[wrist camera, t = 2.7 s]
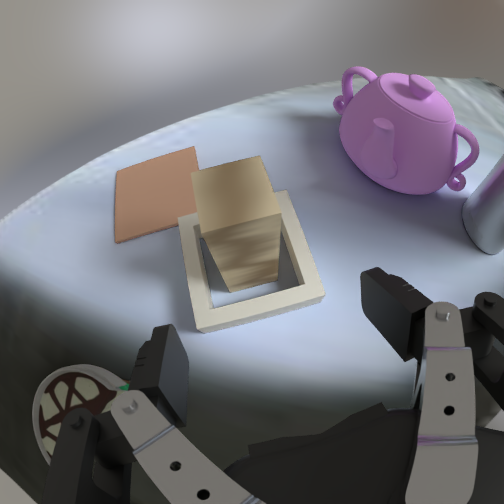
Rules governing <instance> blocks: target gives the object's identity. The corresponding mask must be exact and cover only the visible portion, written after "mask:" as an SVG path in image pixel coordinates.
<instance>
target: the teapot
mask: <svg viewBox="0 0 504 504" xmlns="http://www.w3.org/2000/svg"><path fill="white" fill-rule="evenodd" d="M354 74H358V75H360V76H362V77H364V78H365V79H366V80H368V81H369V84H367V85H366V86H365V87H363V88H362V89H361V90H360V91H359V92H358V93H357V94H356V95H355V96H354V97H353V89H352V78H353V75H354ZM342 93H343V96H342V95H341V96H337V97H336V98H335V99H334V102H333V106H334V108H335V110H336V111H337V112H338V113H339V114H341V115H342V118H341V121H340V126H339V134H340V138H341V142H342V145H343V147H344V149H345V151H346V152H347V154H348V156H349V157H350V158H351V160H352V161H353V162H354V163H355V165H356V166H357V167H358V168H359V169H360V170H361V171H362V172H363V173H364V174H366V175H367V176H368V177H369V178H371V179H372V180H373V181H375V182H376V183H378V184H380V185H382V186H384V187H386V188H388V189H391V190H393V191H397V192H400V193H406V194H415V195H421V194H429V193H432V192H435V191H437V190H439V189H440V188H442V187H443V186H444V185H445V184H446V183H447V185H448V187H449V188H450V189H452V190H454V191H461V190H462V189H463V188H464V187H465V184H466V179H465V177H464V175H462V174H461V173H462V172H463V171H465V170H466V169H468V168H469V167H470V166H472V165H473V164H474V163H475V161H476V160H477V158H478V155H479V145H478V142H477V140H476V138H475V136H474V135H473V134H472V132H471V131H470V130H468V129H467V128H466V127H464V126H462V125H459V124H456V120H455V116H454V112H453V109H452V107H451V105H450V104H449V102H448V101H447V100H446V99H445V97H444V96H443V95H442V94H440V93H439V92H438V91H437V90H436V88H435V86H434V85H433V84H432V83H431V82H430V81H429V80H427V79H426V78H424V77H422V76H419V75H415V74H410V75H405V74H400V73H387V74H384V75H382V76H380V77H377V76H376V75H375V74H374V73H373V72H372V71H371V70H369V69H367V68H364V67H351V68H349V69H347V70H346V71H345V72H344V74H343V77H342ZM342 102H344V105H343V103H342ZM457 134H458V135H460V136H461V137H463V138H464V139H465V140H466V141H467V142H468V143H469V145H470V146H471V149H472V151H471V153H470V155H469V156H468V157H467V158H466V159H465V160H464V161H462V162H461V163H459V164H458V165H456V166H455V162H456V158H457V152H458V136H457ZM454 166H455V167H454ZM454 177H455V178H457V179H458V180H459V181H460V182H457V181H456V180H455V179H454Z"/></svg>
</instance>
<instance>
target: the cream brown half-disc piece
mask: <svg viewBox="0 0 504 504" xmlns="http://www.w3.org/2000/svg"><path fill="white" fill-rule="evenodd" d="M129 383H130V381H127V380H122V379H120V378H119V377H118V376H116V375H114V374H113V373H111V372H110V371H108V370H105V369H103V368H101V367H98V366H94V365H88V364H79V365H73V366H68V367H63V368H61V369H58V370H56V371H55V372H53V373H52V374H50V375H49V376H47V377H46V378H45V379H44V380H43V381H42V383H41V384H40V386H39V387H38V389H37V392H36V394H35V398H34V402H33V410H32V419H33V427H34V432H35V436H36V440H37V442H38V445H39V448H40V450H41V452H42V454H43V456H44V458H45V459H46V461H47V463H48V464H49V466H50V462H51V458H52V454H53V451H54V447H55V444H56V440H57V437H58V434H59V430H60V427H61V424H62V421H63V419H64V417H65V416H66V415H67V414H68V413H69V412H70V411H72V410H74V409H76V408H86V409H88V410H89V411H90V412H91V413H92V415H93V416H95V415H98V414H101V413H104V412H107V411H109V410H111V405H112V403H113V401H114V400H115V399H116V398H117V397H118V396H119V395H120V394H122V393H124V392H126V391H128V387H129Z"/></svg>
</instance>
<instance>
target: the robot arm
mask: <svg viewBox="0 0 504 504" xmlns="http://www.w3.org/2000/svg"><path fill="white" fill-rule="evenodd" d="M462 216H463V222H464V225H465V228H466V230H467V232H468V234H469V236H470V238H471V239H472V240H473V242H474V243H475V244H476V245H477V246H478V247H479V248H480V249H481V250H482V251H484V252H486V253H488V254H492V255H493V254H497V253H499V252H501V251H502V250H503V249H504V154H503V156H502V157H501V158H500V160H499V161H498V162H497V164H496V165H495V166H494V168H493V169H492V170H491V172H490V173H489V174H488V175H487V177H486V178H485V179H484V180H483V182H482V183H481V184H480V185H479V186H478V187H477V189H476V190H475V191H474V192H473V193H472V195H471V196H470V197H469V198H468V199H467V200H466V202H465V203H464V205H463V208H462ZM360 280H361V303H362V309H363V312H364V314H365V315H366V317H367V318H368V319H369V320H370V322H371V323H372V324H373V325H374V326H375V327H376V328H377V330H378V331H379V332H380V333H381V334H382V335H383V337H384V338H385V339H386V340H387V341H388V343H389V344H390V345H391V346H392V347H393V348H394V350H395V351H396V352H397V353H398V354H399V356H400V357H401V358H402V359H403V361H404V362H406V361H408V360H410V359H412V358H414V357H415V358H416V360H417V364H416V370H415V379H414V387H413V394H412V401H411V406H410V409H409V408H396V409H389V410H386V409H385V407H384V405H383V404H382V402H381V403H379V404H376V405H374V406H372V407H369V408H367V409H365V410H362V411H360V412H357V413H355V414H352V415H350V416H349V417H347V418H346V419H344V420H343V421H341V422H340V423H338V424H336V425H335V426H333V427H332V428H330V429H328V430H327V431H325V432H323V433H321V434H317V435H307V436H295V437H282V438H278V439H274V440H270V441H265V442H261V443H256V444H251V445H248V448H249V455H247V456H244V457H242V458H241V459H239V460H237V461H236V462H234V463H233V464H231V465H230V466H229V467H227V468H226V469H225V470H224V471H223V472H222V471H221V470H220V469H219V468H218V467H217V466H215V465H214V464H213V463H212V462H211V461H210V460H209V459H208V458H206V457H205V456H204V455H203V454H202V453H201V452H200V451H199V450H198V449H197V448H196V447H195V446H194V445H193V444H192V443H191V442H190V441H189V440H188V439H187V438H186V437H185V436H184V435H183V434H182V433H181V432H180V431H179V430H178V429H177V428H179V427H186V416H187V393H188V374H189V361H188V356H187V353H186V351H185V349H184V347H183V345H182V342H181V340H180V338H179V336H178V334H177V332H176V329H175V327H174V326H173V325H172V324H168V325H163V326H159V327H155V328H154V329H153V333H152V337H151V340H149V341H146V342H145V343H144V344H143V345H142V347H141V348H140V349H139V352H138V355H137V360H136V362H135V365H134V366H135V367H134V369H133V372H132V376H131V380H130V383H129V387H128V391H126V392H124V393H122V394H120V395H119V396H118V397H117V398H116V399H115V400H114V401H113V403H112V405H111V410H109V411H107V412H104V413H101V414H98V415H95V416H93V415H92V413H91V412H90V411H89V410H88V409H86V408H76V409H74V410H72V411H70V412H69V413H68V414H67V415H66V416H65V417H64V419H63V421H62V424H61V427H60V430H59V434H58V437H57V440H56V444H55V447H54V451H53V454H52V458H51V462H50V466H49V470H48V474H47V478H46V483H45V487H44V492H43V497H42V503H41V504H130V484H131V467H132V462H135V461H138V462H139V463H140V465H141V466H142V467H143V469H144V470H145V471H146V473H147V474H148V475H149V477H150V478H151V479H152V481H153V482H154V483H155V484H156V486H157V487H158V488H159V489H160V491H161V492H162V493H163V494H164V496H165V497H166V498H167V499H168V500H169V501H170V503H171V504H504V432H502V431H498V430H493V429H488V428H484V427H480V426H475V384H474V375H475V376H476V377H477V379H478V380H479V381H480V382H481V383H482V385H483V386H484V387H485V388H486V389H487V391H488V392H489V393H490V394H491V396H492V397H493V398H494V399H495V401H496V402H497V403H498V404H499V406H500V407H501V408H502V410H503V411H504V356H503V355H502V354H501V353H500V352H499V351H498V350H497V349H496V348H495V347H494V346H493V343H494V340H495V337H496V338H497V339H498V340H499V341H500V342H501V343H502V344H503V345H504V299H503V298H502V297H501V296H499V295H497V294H495V293H492V292H482V293H479V294H478V295H477V296H476V297H475V300H474V305H473V307H468V308H464V309H460V310H459V309H458V308H457V307H456V306H455V305H453V304H451V303H448V302H435V303H433V302H432V301H431V300H430V299H428V298H427V297H426V296H424V295H423V294H422V293H421V292H419V291H418V290H417V289H414V287H413V286H412V285H410V284H408V282H406V281H405V280H404V279H402V278H401V277H398V276H395V275H392V274H390V275H388V274H387V273H386V272H384V271H383V270H382V269H380V268H379V267H375V268H372V269H369V270H366V271H363V272H362V273H361V276H360ZM94 460H95V461H96V463H95V469H94V476H93V480H92V468H93V462H94Z"/></svg>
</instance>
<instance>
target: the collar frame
mask: <svg viewBox="0 0 504 504" xmlns="http://www.w3.org/2000/svg"><path fill="white" fill-rule="evenodd" d="M275 196H276V199H277V201H278V204H279V207H280V209H281V212H282V216H281V232H282V235H283V238H284V241H285V244H286V247H287V250H288V252H289V255H290V258H291V261H292V264H293V267H294V270H295V273H296V276H297V279H298V282H299V286H297V287H293V288H290V289H286V290H283V291H279V292H275V293H272V294H268V295H264V296H261V297H257V298H253V299H249V300H245V301H242V302H238V303H234V304H230V305H226V306H222V307H218V308H214V307H213V303H212V298H211V293H210V289H209V284H208V279H207V274H206V270H205V265H204V260H203V255H202V249H201V244H200V238H203V236H202V234H201V229H200V224H199V218H198V213H197V212H196V213H193V214H189V215H185V216H182V217H178V224H179V231H180V238H181V245H182V251H183V257H184V263H185V269H186V275H187V281H188V286H189V292H190V297H191V302H192V307H193V312H194V317H195V322H196V327H197V329H198V330H199V331H201V332H203V333H204V334H205V333H209V332H213V331H218V330H222V329H226V328H230V327H234V326H238V325H242V324H246V323H250V322H254V321H258V320H261V319H265V318H269V317H272V316H276V315H280V314H283V313H287V312H290V311H294V310H297V309H300V308H304V307H307V306H310V305H314V304H317V303H320V302H321V301H322V299H323V298H324V296H325V295H326V294H325V291H324V288H323V285H322V282H321V280H320V277H319V274H318V271H317V268H316V266H315V263H314V260H313V257H312V255H311V252H310V249H309V246H308V244H307V241H306V238H305V236H304V233H303V231H302V228H301V225H300V223H299V220H298V218H297V215H296V213H295V210H294V208H293V205H292V203H291V200H290V198H289V195H288V193H287V190H283V191H279V192H275Z"/></svg>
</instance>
